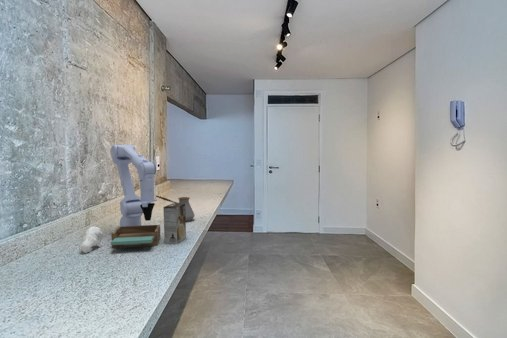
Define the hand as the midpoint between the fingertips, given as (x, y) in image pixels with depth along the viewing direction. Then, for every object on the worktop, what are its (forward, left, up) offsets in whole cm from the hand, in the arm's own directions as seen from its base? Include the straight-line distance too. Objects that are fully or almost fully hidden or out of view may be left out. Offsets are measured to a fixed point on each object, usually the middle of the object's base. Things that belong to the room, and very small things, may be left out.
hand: (148, 220), depth 140 cm
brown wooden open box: (-3, -4, -9) cm, 10 cm away
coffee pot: (-13, +35, -10) cm, 39 cm away
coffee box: (+11, +5, -10) cm, 15 cm away
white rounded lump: (-13, -19, -10) cm, 25 cm away
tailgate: (+1, -9, -6) cm, 11 cm away
